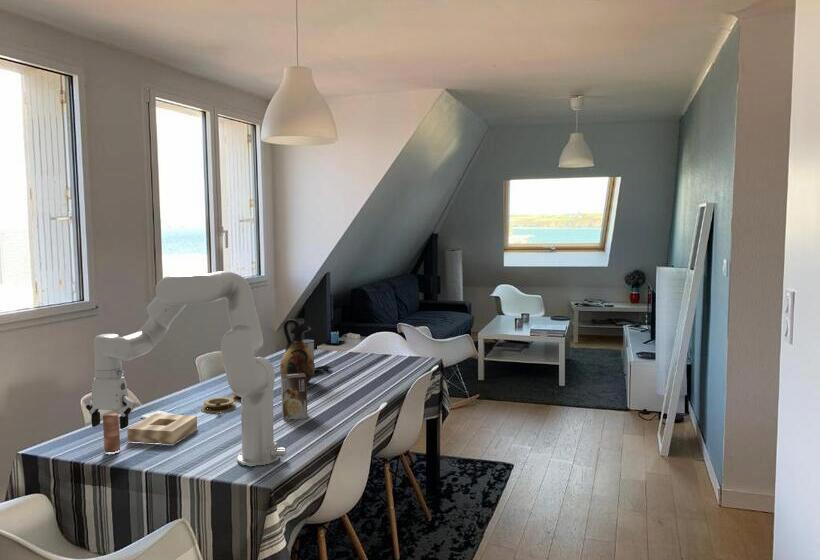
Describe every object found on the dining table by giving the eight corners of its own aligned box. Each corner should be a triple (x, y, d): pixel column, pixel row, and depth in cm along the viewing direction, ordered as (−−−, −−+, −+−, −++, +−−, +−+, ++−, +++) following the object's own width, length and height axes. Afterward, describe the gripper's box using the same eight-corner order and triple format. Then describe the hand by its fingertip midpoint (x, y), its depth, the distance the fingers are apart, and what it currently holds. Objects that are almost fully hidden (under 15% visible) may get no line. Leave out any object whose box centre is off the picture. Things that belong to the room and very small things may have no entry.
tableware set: (226, 418, 228) (225, 402, 228) (187, 411, 237) (186, 396, 236) (275, 398, 255) (275, 384, 255) (239, 392, 264) (239, 379, 263)
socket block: (197, 429, 213) (196, 415, 213) (172, 446, 198) (172, 431, 197) (155, 427, 216) (154, 413, 215) (127, 443, 200) (127, 428, 200)
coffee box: (306, 413, 232) (305, 372, 230) (307, 418, 226) (307, 376, 224) (281, 415, 229) (280, 374, 228) (282, 420, 223) (281, 378, 222)
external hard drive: (161, 425, 219) (141, 419, 226) (180, 419, 226) (160, 413, 233) (161, 421, 219) (140, 415, 226) (180, 415, 226) (160, 409, 233)
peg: (123, 450, 194) (121, 413, 193) (114, 455, 190) (112, 418, 188) (110, 449, 195) (108, 413, 194) (101, 454, 190) (99, 417, 189)
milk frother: (294, 369, 303) (293, 339, 302) (324, 366, 310) (324, 337, 308) (301, 375, 290) (300, 345, 289) (332, 372, 297) (332, 342, 295)
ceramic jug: (318, 381, 280) (318, 316, 277) (310, 390, 265) (309, 322, 262) (283, 380, 282) (281, 316, 279) (272, 389, 266) (270, 321, 264)
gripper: (140, 372, 192) (142, 424, 194) (91, 369, 195) (93, 420, 196) (126, 378, 185) (127, 432, 186) (75, 374, 187) (77, 428, 189)
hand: (110, 426), depth 191 cm, fingers open, 9 cm apart
